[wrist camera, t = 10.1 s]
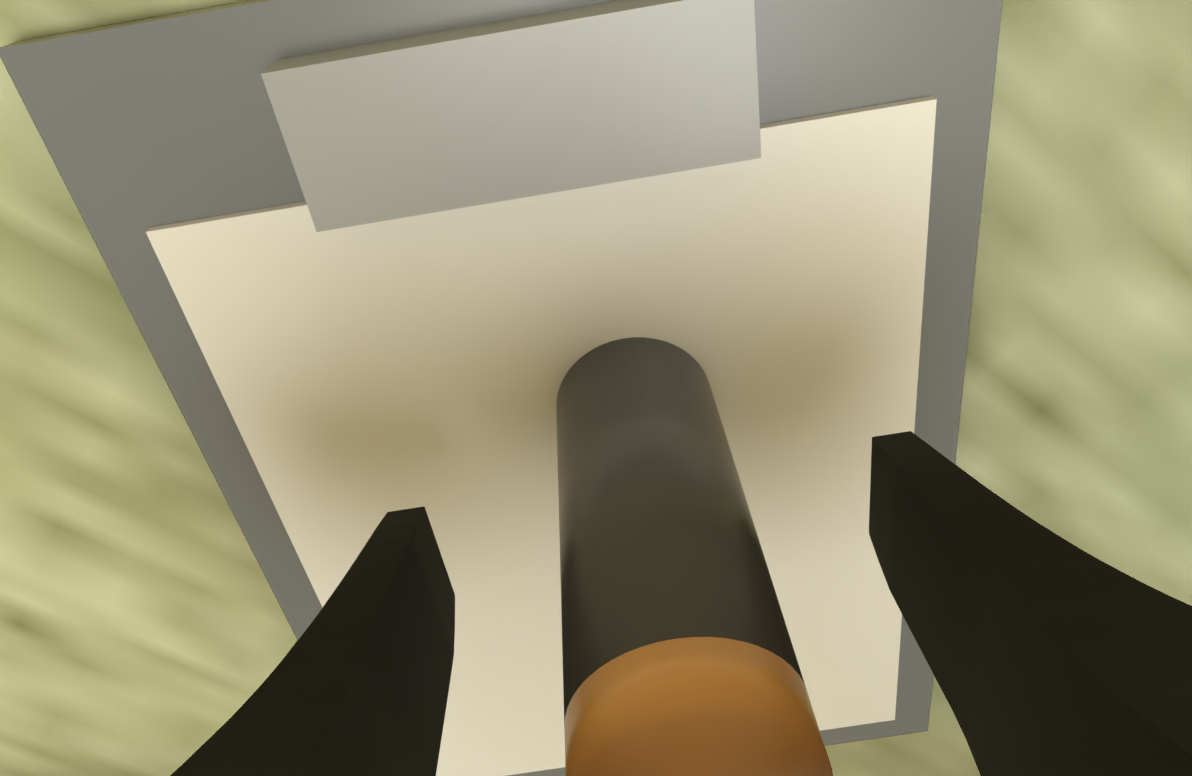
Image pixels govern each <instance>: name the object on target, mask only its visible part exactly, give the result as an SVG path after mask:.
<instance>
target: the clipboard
mask: <svg viewBox="0 0 1192 776" xmlns="http://www.w3.org/2000/svg"><path fill="white" fill-rule="evenodd" d="M1002 2H1003V0H249V1H243V2H237V3H232V4H226V5H220V6H215V7H209V8H204V9H198V10H192V11H187V12H181V13H175V14H170V15H164V16H158V17H153V18H147V19H141V20H136V21H130V22H124V23H119V24H113V25H107V26H102V27H96V28H90V29H85V30H79V31H73V32H68V33H62V34H56V35H51V36H45V37H39V38H34V39H28V40H22V41H17V42H14V43H12V44H9V45H6V46H3V47H0V57H1V59H2V61H3V63H4V65H5V67H6V69H7V71H8V73H9V75H10V77H11V79H12V81H13V83H14V85H15V87H16V89H17V91H18V93H19V95H20V97H21V98H22V100H23V102H24V104H25V106H26V108H27V110H28V112H29V114H30V116H31V118H32V120H33V122H34V124H35V126H36V128H37V130H38V132H39V134H40V136H41V138H42V140H43V142H44V144H45V146H46V148H47V149H48V151H49V153H50V155H51V157H52V159H53V161H54V163H55V165H56V167H57V169H58V171H59V173H60V175H61V177H62V179H63V181H64V183H65V185H66V187H67V189H68V191H69V193H70V195H71V197H72V199H73V200H74V202H75V204H76V206H77V208H78V210H79V212H80V214H81V216H82V218H83V220H84V222H85V224H86V226H87V228H88V230H89V232H90V234H91V236H92V238H93V240H94V242H95V244H96V246H97V248H98V250H99V251H100V253H101V255H102V257H103V259H104V261H105V263H106V265H107V267H108V269H109V271H110V273H111V275H112V277H113V279H114V281H115V283H116V285H117V287H118V289H119V291H120V293H121V295H122V297H123V299H124V301H125V302H126V304H127V306H128V308H129V310H130V312H131V314H132V316H133V318H134V320H135V322H136V324H137V326H138V328H139V330H140V332H141V334H142V336H143V338H144V340H145V342H146V344H147V346H148V348H149V350H150V352H151V353H152V355H153V357H154V359H155V361H156V363H157V365H158V367H159V369H160V371H161V373H162V375H163V377H164V379H165V381H166V383H167V385H168V387H169V389H170V391H171V393H172V395H173V397H174V399H175V401H176V403H177V404H178V406H179V408H180V410H181V412H182V414H183V416H184V418H185V420H186V422H187V424H188V426H189V428H190V430H191V432H192V434H193V436H194V438H195V440H196V442H197V444H198V446H199V448H200V450H201V452H202V454H203V456H204V457H205V459H206V461H207V463H208V465H209V467H210V469H211V471H212V473H213V475H214V477H215V479H216V481H217V483H218V485H219V487H220V489H221V491H222V493H223V495H224V497H225V499H226V501H227V503H228V505H229V507H230V508H231V510H232V512H233V514H234V516H235V518H236V520H237V522H238V524H239V526H240V528H241V530H242V532H243V534H244V536H245V538H246V540H247V542H248V544H249V546H250V548H251V550H252V552H253V554H254V556H255V558H256V559H257V561H258V563H259V565H260V567H261V569H262V571H263V573H264V575H265V577H266V579H267V581H268V583H269V585H270V587H271V589H272V591H273V593H274V595H275V597H276V599H277V601H278V603H279V605H280V607H281V609H282V610H283V612H284V614H285V616H286V618H287V620H288V622H289V624H290V626H291V628H292V630H293V632H294V634H295V636H296V638H297V640H298V639H299V638H300V637H301V636H302V634H303V633H304V632H305V630H306V629H307V628H308V627H309V625H310V624H311V623H312V621H313V620H314V619H315V617H316V616H317V615H318V613H319V612H320V610H321V609H322V608H323V606H324V605H325V603H326V602H327V600H328V599H329V598H330V596H331V595H332V593H333V592H334V590H335V589H336V588H337V586H338V585H339V583H340V582H341V580H342V579H343V578H344V576H345V575H346V573H347V572H348V570H349V569H350V567H351V566H352V564H353V563H354V561H355V560H356V558H357V557H358V555H359V554H360V552H361V551H362V549H363V547H364V546H365V544H366V543H367V541H368V540H369V538H370V537H371V535H372V534H373V532H374V531H375V529H376V528H377V526H378V525H379V523H380V522H381V520H382V519H383V517H384V516H385V515H386V514H387V512H391V511H398V510H404V509H411V508H417V507H424V506H425V509H426V512H427V515H428V518H429V521H430V524H431V527H432V530H433V533H434V535H435V538H436V541H437V544H438V547H439V550H440V553H441V556H442V559H443V562H444V565H445V567H446V570H447V573H448V576H449V579H450V582H451V585H452V588H453V591H454V594H455V638H454V657H453V665H452V672H451V678H450V685H449V692H448V699H447V706H446V712H445V719H444V725H443V732H442V738H441V745H440V751H439V758H438V764H437V771H436V776H566V774H565V734H564V695H563V655H562V615H561V576H560V536H559V496H558V457H557V417H556V401H557V395H558V391H559V388H560V385H561V383H562V381H563V379H564V377H565V375H566V374H567V372H568V371H569V369H570V368H571V367H572V366H573V365H574V364H575V363H576V362H577V360H579V359H580V358H581V357H582V356H584V355H585V354H586V353H588V352H589V351H591V350H593V349H594V348H596V347H598V346H600V345H603V344H605V343H608V342H611V341H614V340H619V339H623V338H633V337H645V338H653V339H658V340H662V341H666V342H668V343H671V344H673V345H676V346H677V347H679V348H681V349H683V350H684V351H686V352H687V353H688V354H690V355H691V356H692V357H693V358H694V359H695V360H696V361H697V362H698V363H699V365H700V366H701V367H702V369H703V370H704V372H705V374H706V376H707V378H708V381H709V384H710V387H711V390H712V394H713V397H714V400H715V403H716V406H717V409H718V412H719V416H720V419H721V422H722V425H723V428H724V431H725V435H726V438H727V441H728V444H729V447H730V450H731V453H732V457H733V460H734V463H735V466H736V469H737V472H738V475H739V479H740V482H741V485H742V488H743V491H744V494H745V497H746V501H747V504H748V507H749V510H750V513H751V516H752V520H753V523H754V526H755V529H756V532H757V535H758V538H759V542H760V545H761V548H762V551H763V554H764V557H765V560H766V564H767V567H768V570H769V573H770V576H771V579H772V582H773V586H774V589H775V592H776V595H777V598H778V601H779V605H780V608H781V611H782V614H783V617H784V620H785V623H786V627H787V630H788V633H789V636H790V639H791V642H792V645H793V649H794V652H795V655H796V658H797V661H798V664H799V667H800V671H801V674H802V677H803V680H804V683H805V686H806V690H807V693H808V696H809V699H810V702H811V705H812V708H813V712H814V715H815V718H816V721H817V724H818V727H819V730H820V734H821V737H822V740H823V743H824V746H827V745H834V744H841V743H848V742H855V741H862V740H869V739H876V738H883V737H890V736H897V735H904V734H911V733H918V732H925V731H928V724H929V714H930V704H931V694H932V685H933V675H934V674H933V672H932V670H931V668H930V666H929V665H928V663H927V661H926V659H925V657H924V655H923V653H922V651H921V649H920V648H919V646H918V644H917V642H916V640H915V638H914V636H913V634H912V632H911V630H910V628H909V627H908V625H907V623H906V621H905V619H904V617H903V615H902V613H901V611H900V609H899V607H898V605H897V603H896V601H895V599H894V597H893V595H892V594H891V592H890V590H889V587H888V584H887V582H886V579H885V577H884V574H883V571H882V569H881V566H880V564H879V561H878V558H877V555H876V552H875V549H874V547H873V544H872V541H871V538H870V535H869V510H870V480H871V450H872V437H875V436H882V435H888V434H895V433H901V432H908V431H911V432H913V433H914V434H915V435H917V436H918V437H919V438H921V439H922V440H923V441H925V442H926V443H927V444H929V445H930V446H931V447H933V448H934V449H935V450H937V451H938V452H939V453H941V454H942V455H943V456H945V457H946V458H947V459H949V460H950V461H951V462H952V463H954V464H955V460H956V451H957V441H958V431H959V422H960V412H961V402H962V392H963V383H964V373H965V363H966V353H967V344H968V334H969V324H970V314H971V305H972V295H973V285H974V275H975V266H976V256H977V246H978V236H979V227H980V217H981V207H982V197H983V188H984V178H985V168H986V158H987V149H988V139H989V129H990V119H991V110H992V100H993V90H994V80H995V71H996V61H997V51H998V41H999V32H1000V22H1001V12H1002Z"/></svg>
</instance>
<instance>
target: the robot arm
mask: <svg viewBox="0 0 1192 776" xmlns="http://www.w3.org/2000/svg"><path fill="white" fill-rule="evenodd" d="M869 535H870V538H871V541H872V544H873V547H874V549H875V552H876V555H877V558H878V561H879V564H880V566H881V569H882V571H883V574H884V577H885V579H886V582H887V584H888V587H889V590H890V592H891V594H892V595H893V597H894V599H895V601H896V603H897V605H898V607H899V609H900V611H901V613H902V615H903V617H904V619H905V621H906V623H907V625H908V627H909V628H910V630H911V632H912V634H913V636H914V638H915V640H916V642H917V644H918V646H919V648H920V649H921V651H922V653H923V655H924V657H925V659H926V661H927V663H928V665H929V666H930V668H931V670H932V672H933V674H934V676H935V678H936V680H937V682H938V684H939V685H940V687H941V689H942V691H943V693H944V695H945V697H946V699H947V701H948V703H949V704H950V706H951V708H952V710H953V712H954V714H955V716H956V719H957V721H958V723H959V725H960V727H961V729H962V731H963V733H964V735H965V738H966V740H967V742H968V745H969V747H970V750H971V752H972V755H973V757H974V760H975V762H976V765H977V767H978V770H979V772H980V775H981V776H1192V606H1190V605H1188V604H1186V603H1184V602H1181V601H1179V600H1177V599H1175V598H1173V597H1170V596H1168V595H1166V594H1164V593H1162V592H1160V591H1158V590H1156V589H1154V588H1152V587H1150V586H1148V585H1146V584H1144V583H1142V582H1140V581H1138V580H1136V579H1134V578H1132V577H1130V576H1128V575H1127V574H1125V573H1123V572H1121V571H1119V570H1117V569H1115V568H1113V567H1112V566H1110V565H1108V564H1106V563H1104V562H1102V561H1100V560H1098V559H1097V558H1095V557H1093V556H1091V555H1090V554H1088V553H1086V552H1084V551H1083V550H1081V549H1079V548H1078V547H1076V546H1074V545H1073V544H1071V543H1069V542H1068V541H1066V540H1064V539H1063V538H1061V537H1060V536H1058V535H1056V534H1055V533H1053V532H1052V531H1050V530H1048V529H1047V528H1045V527H1044V526H1042V525H1040V524H1039V523H1037V522H1036V521H1034V520H1033V519H1031V518H1030V517H1028V516H1027V515H1025V514H1024V513H1022V512H1021V511H1019V510H1018V509H1016V508H1015V507H1013V506H1012V505H1010V504H1009V503H1007V502H1006V501H1005V500H1003V499H1002V498H1000V497H999V496H997V495H996V494H995V493H993V492H992V491H990V490H989V489H988V488H986V487H985V486H983V485H982V484H981V483H979V482H978V481H977V480H975V479H974V478H973V477H971V476H970V475H969V474H967V473H966V472H964V471H963V470H962V469H960V468H959V467H958V466H956V465H955V464H954V463H952V462H951V461H950V460H949V459H947V458H946V457H945V456H943V455H942V454H941V453H939V452H938V451H937V450H935V449H934V448H933V447H931V446H930V445H929V444H927V443H926V442H925V441H923V440H922V439H921V438H919V437H918V436H917V435H915V434H914V433H913V432H911V431H908V432H901V433H895V434H888V435H882V436H875V437H872V450H871V480H870V510H869ZM454 638H455V594H454V591H453V588H452V585H451V582H450V579H449V576H448V573H447V570H446V567H445V565H444V562H443V559H442V556H441V553H440V550H439V547H438V544H437V541H436V538H435V535H434V533H433V530H432V527H431V524H430V521H429V518H428V515H427V512H426V509H425V506H424V507H417V508H411V509H404V510H398V511H391V512H387V514H386V515H385V516H384V517H383V519H382V520H381V522H380V523H379V525H378V526H377V528H376V529H375V531H374V532H373V534H372V535H371V537H370V538H369V540H368V541H367V543H366V544H365V546H364V547H363V549H362V551H361V552H360V554H359V555H358V557H357V558H356V560H355V561H354V563H353V564H352V566H351V567H350V569H349V570H348V572H347V573H346V575H345V576H344V578H343V579H342V580H341V582H340V583H339V585H338V586H337V588H336V589H335V590H334V592H333V593H332V595H331V596H330V598H329V599H328V600H327V602H326V603H325V605H324V606H323V608H322V609H321V610H320V612H319V613H318V615H317V616H316V617H315V619H314V620H313V621H312V623H311V624H310V625H309V627H308V628H307V629H306V630H305V632H304V633H303V634H302V636H301V637H300V638H299V639H298V641H297V642H296V643H295V645H294V646H293V647H292V648H291V650H290V651H289V652H288V654H287V655H286V656H285V658H284V659H283V660H282V661H281V662H280V664H279V665H278V666H277V667H276V668H275V670H274V671H273V672H272V673H271V674H270V676H269V677H268V678H267V679H266V680H265V681H264V683H263V684H262V685H261V686H260V687H259V688H258V689H257V690H256V691H255V692H254V694H253V695H252V696H251V697H250V698H249V699H248V700H247V701H246V702H245V703H244V704H243V706H242V707H241V708H240V709H239V710H238V711H237V712H236V713H235V714H234V715H233V716H232V717H231V718H230V719H229V720H228V721H227V722H226V723H225V724H224V725H223V726H222V727H221V728H220V729H219V730H218V731H217V732H216V733H215V734H214V735H213V736H212V737H211V738H210V739H209V740H207V741H206V742H205V743H204V744H203V745H202V746H201V747H200V748H199V749H198V750H197V751H196V752H195V753H194V754H193V755H192V756H191V757H190V758H189V759H188V760H187V761H186V762H185V763H184V764H183V765H182V766H180V767H179V768H178V769H177V770H176V771H175V772H174V773H173V774H172V775H170V776H436V771H437V764H438V758H439V751H440V745H441V738H442V732H443V725H444V719H445V712H446V706H447V699H448V692H449V685H450V678H451V672H452V665H453V657H454Z"/></svg>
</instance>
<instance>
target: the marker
mask: <svg viewBox="0 0 1192 776" xmlns="http://www.w3.org/2000/svg"><path fill="white" fill-rule="evenodd" d="M556 417H557V457H558V496H559V536H560V576H561V615H562V655H563V695H564V734H565V774H566V776H833V774H832V768H831V765H830V762H829V759H828V756H827V752H826V749H825V746H824V743H823V740H822V737H821V734H820V730H819V727H818V724H817V721H816V718H815V715H814V712H813V708H812V705H811V702H810V699H809V696H808V693H807V690H806V686H805V683H804V680H803V677H802V674H801V671H800V667H799V664H798V661H797V658H796V655H795V652H794V649H793V645H792V642H791V639H790V636H789V633H788V630H787V627H786V623H785V620H784V617H783V614H782V611H781V608H780V605H779V601H778V598H777V595H776V592H775V589H774V586H773V582H772V579H771V576H770V573H769V570H768V567H767V564H766V560H765V557H764V554H763V551H762V548H761V545H760V542H759V538H758V535H757V532H756V529H755V526H754V523H753V520H752V516H751V513H750V510H749V507H748V504H747V501H746V497H745V494H744V491H743V488H742V485H741V482H740V479H739V475H738V472H737V469H736V466H735V463H734V460H733V457H732V453H731V450H730V447H729V444H728V441H727V438H726V435H725V431H724V428H723V425H722V422H721V419H720V416H719V412H718V409H717V406H716V403H715V400H714V397H713V394H712V390H711V387H710V384H709V381H708V378H707V376H706V374H705V372H704V370H703V369H702V367H701V366H700V365H699V363H698V362H697V361H696V360H695V359H694V358H693V357H692V356H691V355H690V354H688V353H687V352H686V351H684V350H683V349H681V348H679V347H677V346H676V345H673V344H671V343H668V342H666V341H662V340H658V339H653V338H645V337H633V338H623V339H619V340H614V341H611V342H608V343H605V344H603V345H600V346H598V347H596V348H594V349H593V350H591V351H589V352H588V353H586V354H585V355H584V356H582V357H581V358H580V359H579V360H577V362H576V363H575V364H574V365H573V366H572V367H571V368H570V369H569V371H568V372H567V374H566V375H565V377H564V379H563V381H562V383H561V385H560V388H559V391H558V395H557V401H556Z"/></svg>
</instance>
